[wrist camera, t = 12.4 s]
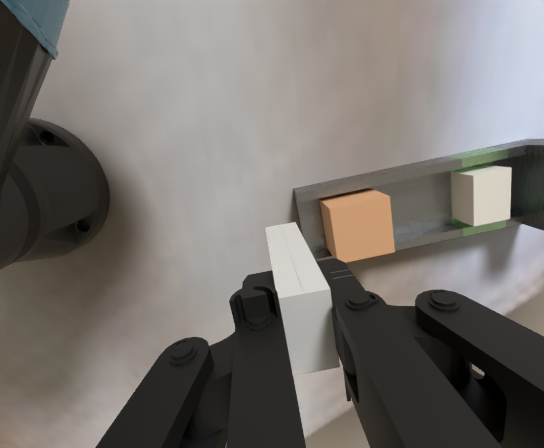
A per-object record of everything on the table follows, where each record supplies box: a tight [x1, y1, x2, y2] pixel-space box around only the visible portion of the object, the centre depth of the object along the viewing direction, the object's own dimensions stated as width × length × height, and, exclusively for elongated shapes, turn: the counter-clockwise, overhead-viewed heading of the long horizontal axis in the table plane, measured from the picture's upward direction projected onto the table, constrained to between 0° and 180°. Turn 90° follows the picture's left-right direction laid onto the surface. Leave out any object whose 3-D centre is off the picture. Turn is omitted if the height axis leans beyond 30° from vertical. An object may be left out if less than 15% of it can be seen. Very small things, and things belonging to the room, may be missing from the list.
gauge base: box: [293, 139, 544, 261], centre depth 32 cm, size 28×9×7 cm, turn 102°
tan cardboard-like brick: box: [319, 188, 395, 263], centre depth 32 cm, size 6×6×5 cm
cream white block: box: [451, 165, 512, 226], centre depth 33 cm, size 4×6×4 cm
